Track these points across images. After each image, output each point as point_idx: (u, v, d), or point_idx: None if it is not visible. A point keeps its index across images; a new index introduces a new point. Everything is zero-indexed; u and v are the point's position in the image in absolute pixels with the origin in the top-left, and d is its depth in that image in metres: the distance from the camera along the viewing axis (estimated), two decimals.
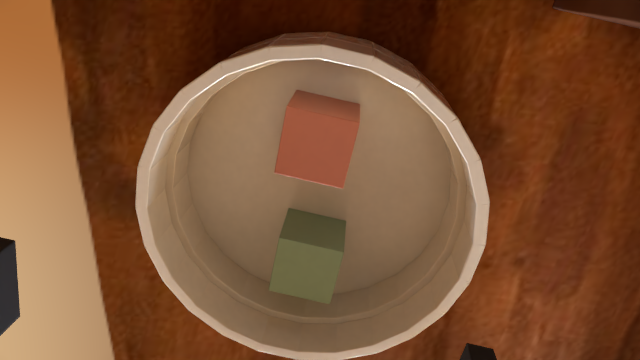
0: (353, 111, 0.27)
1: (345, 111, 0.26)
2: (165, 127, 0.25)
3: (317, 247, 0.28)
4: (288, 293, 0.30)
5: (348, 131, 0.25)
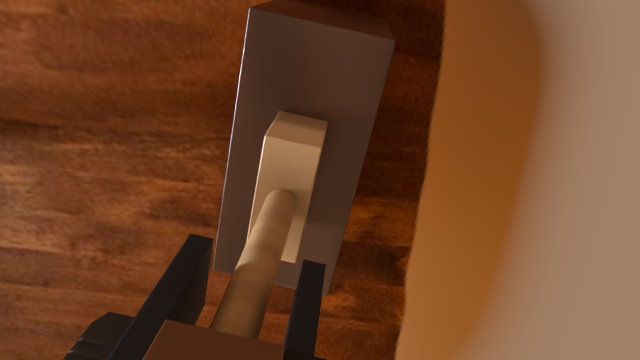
0: None
1: None
2: None
3: None
4: None
5: None
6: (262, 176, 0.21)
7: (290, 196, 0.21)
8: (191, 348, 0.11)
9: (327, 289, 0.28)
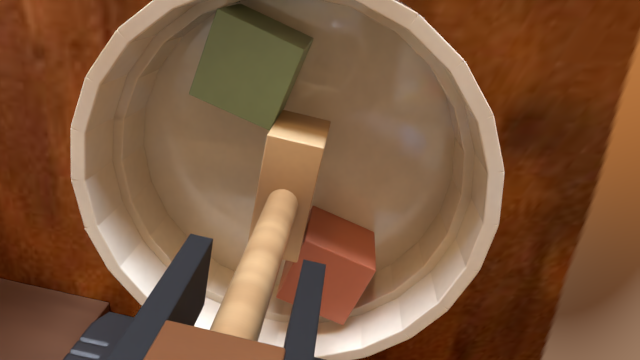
0: None
1: None
2: (434, 308, 0.23)
3: (222, 107, 0.21)
4: (275, 39, 0.20)
5: (288, 293, 0.25)
6: (264, 175, 0.21)
7: (292, 196, 0.21)
8: (191, 350, 0.11)
9: None
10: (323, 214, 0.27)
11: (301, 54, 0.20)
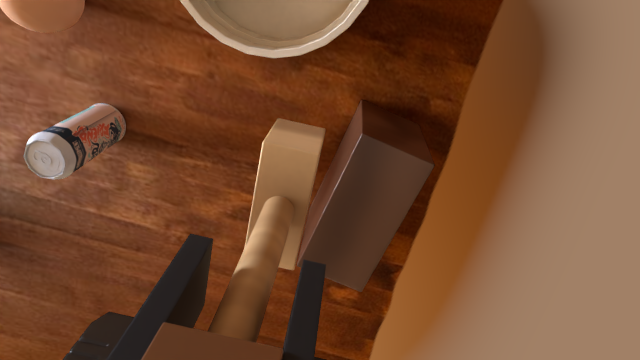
0: None
1: None
2: None
3: None
4: None
5: None
6: (260, 182, 0.21)
7: (288, 202, 0.21)
8: (188, 351, 0.11)
9: (362, 287, 0.47)
10: None
11: None
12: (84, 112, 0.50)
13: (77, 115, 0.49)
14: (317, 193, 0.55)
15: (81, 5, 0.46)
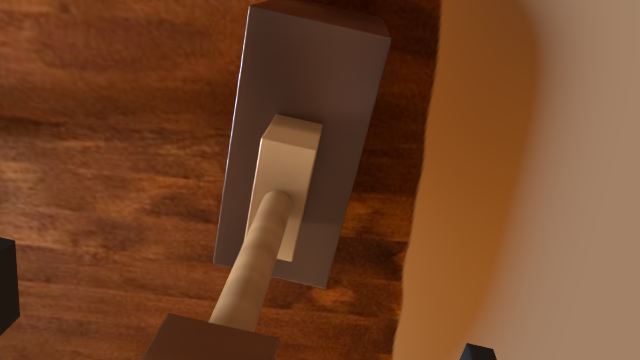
0: None
1: None
2: None
3: None
4: None
5: None
6: (259, 178, 0.22)
7: (286, 197, 0.21)
8: (191, 340, 0.12)
9: (325, 281, 0.28)
10: None
11: None
12: None
13: None
14: None
15: None
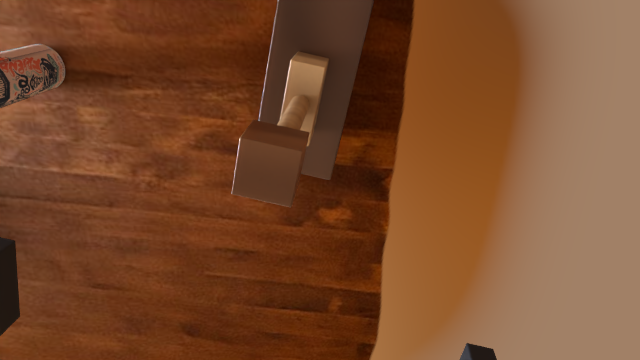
0: None
1: None
2: None
3: None
4: None
5: None
6: (288, 86, 0.34)
7: (306, 98, 0.34)
8: (267, 127, 0.24)
9: (330, 174, 0.41)
10: None
11: None
12: (11, 50, 0.47)
13: None
14: None
15: None
